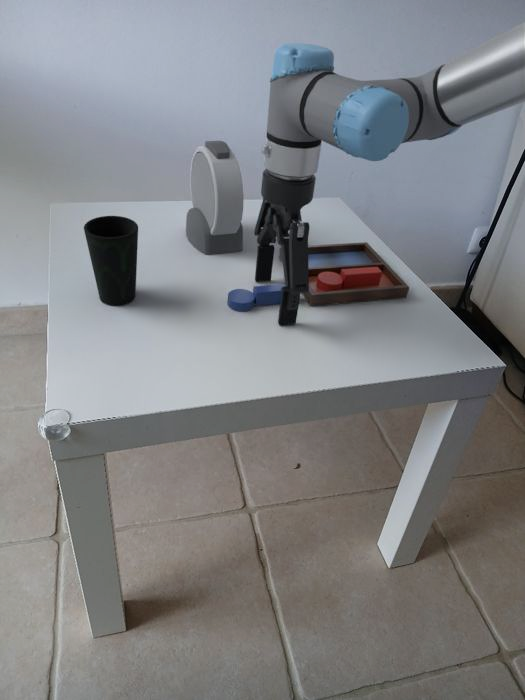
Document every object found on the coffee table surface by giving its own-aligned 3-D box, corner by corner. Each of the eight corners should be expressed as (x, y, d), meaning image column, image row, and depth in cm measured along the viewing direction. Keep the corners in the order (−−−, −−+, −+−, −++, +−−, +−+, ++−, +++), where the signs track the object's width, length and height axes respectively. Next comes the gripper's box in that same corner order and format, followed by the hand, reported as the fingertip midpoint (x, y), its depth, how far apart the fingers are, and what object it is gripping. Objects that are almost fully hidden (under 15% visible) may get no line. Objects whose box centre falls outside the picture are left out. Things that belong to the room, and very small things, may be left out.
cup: (103, 281, 87) (96, 212, 80) (148, 287, 87) (144, 219, 79) (84, 305, 81) (74, 233, 74) (132, 313, 81) (127, 241, 73)
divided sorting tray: (364, 252, 104) (366, 242, 103) (406, 297, 92) (409, 287, 90) (278, 257, 99) (279, 247, 98) (310, 306, 87) (312, 295, 85)
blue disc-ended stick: (289, 292, 90) (291, 279, 88) (298, 306, 86) (300, 293, 85) (224, 298, 86) (225, 284, 85) (230, 312, 83) (231, 298, 82)
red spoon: (371, 276, 95) (374, 263, 93) (382, 288, 92) (385, 275, 90) (312, 280, 92) (315, 267, 90) (321, 293, 89) (324, 280, 87)
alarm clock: (253, 254, 99) (261, 156, 88) (201, 260, 96) (203, 159, 84) (224, 219, 111) (229, 128, 100) (177, 223, 107) (176, 129, 96)
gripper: (241, 143, 82) (233, 265, 95) (293, 207, 63) (275, 347, 77) (287, 143, 84) (273, 263, 97) (349, 205, 66) (322, 342, 79)
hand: (274, 300), depth 87 cm, fingers open, 12 cm apart
